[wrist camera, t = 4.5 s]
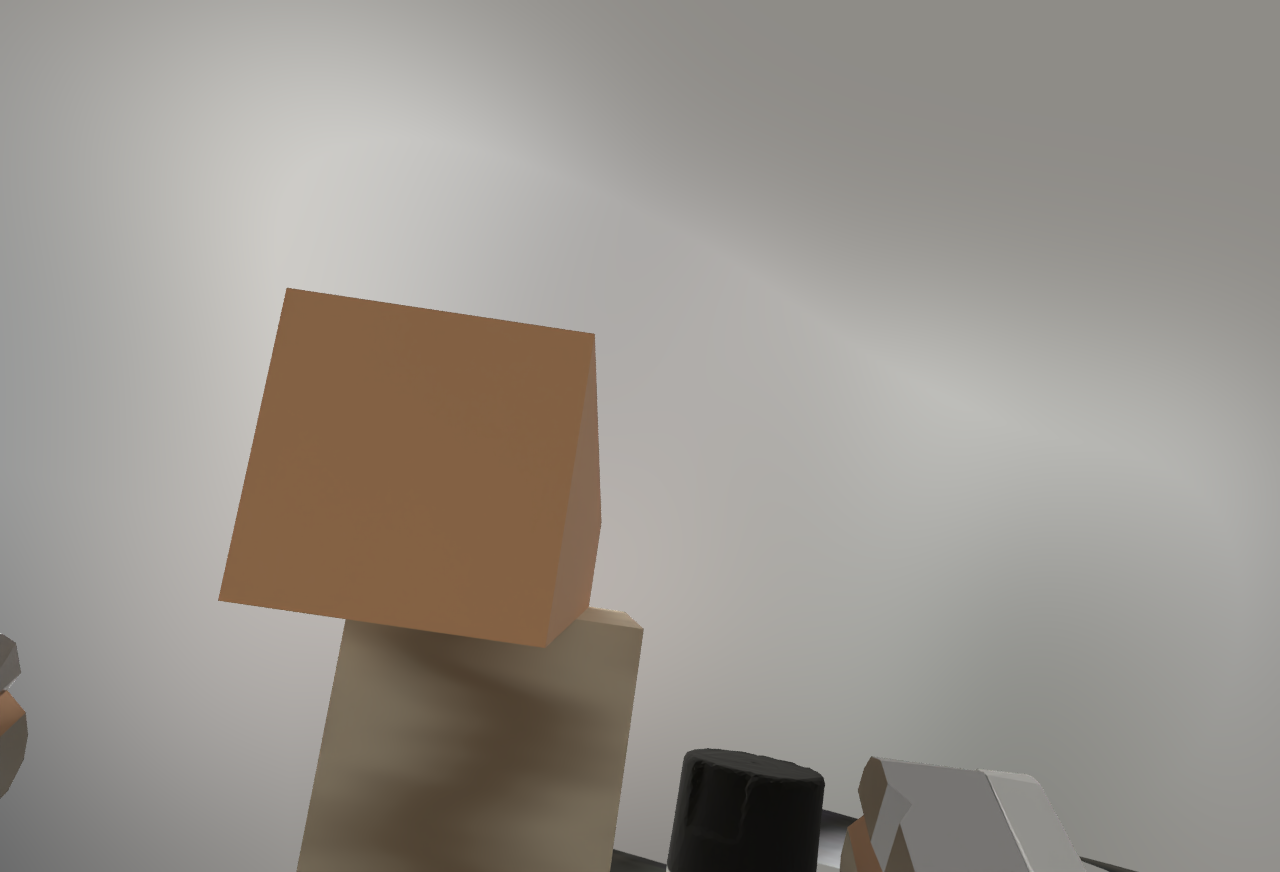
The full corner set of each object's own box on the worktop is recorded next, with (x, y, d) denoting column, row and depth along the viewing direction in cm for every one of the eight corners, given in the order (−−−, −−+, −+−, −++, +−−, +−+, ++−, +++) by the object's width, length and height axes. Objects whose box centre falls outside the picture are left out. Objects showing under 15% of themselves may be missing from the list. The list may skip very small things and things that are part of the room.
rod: (218, 600, 9) (287, 288, 9) (504, 594, 35) (518, 510, 35) (545, 647, 9) (594, 334, 10) (588, 607, 35) (601, 522, 35)
